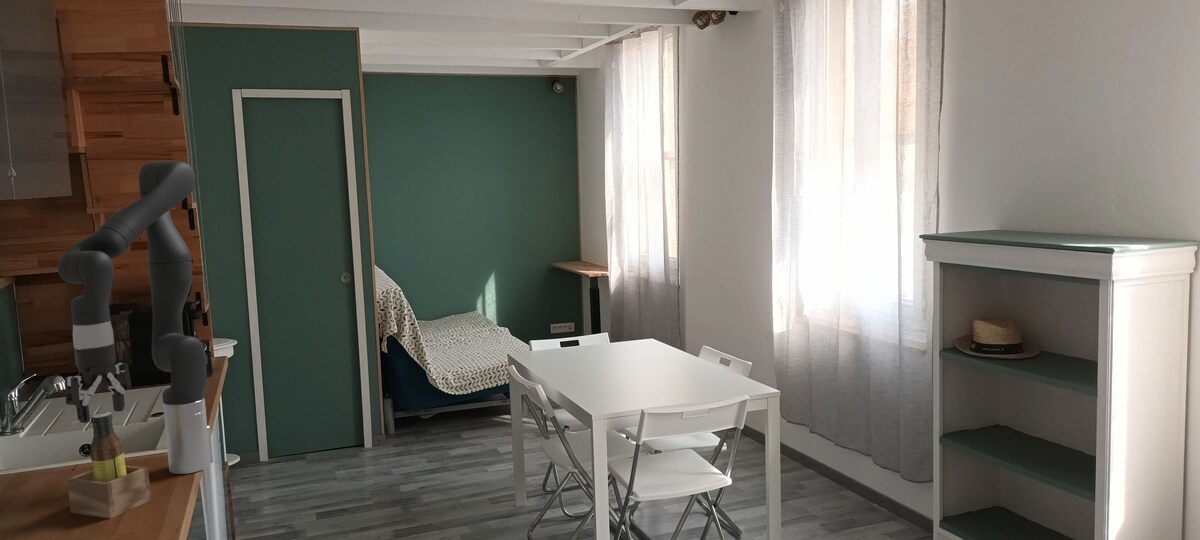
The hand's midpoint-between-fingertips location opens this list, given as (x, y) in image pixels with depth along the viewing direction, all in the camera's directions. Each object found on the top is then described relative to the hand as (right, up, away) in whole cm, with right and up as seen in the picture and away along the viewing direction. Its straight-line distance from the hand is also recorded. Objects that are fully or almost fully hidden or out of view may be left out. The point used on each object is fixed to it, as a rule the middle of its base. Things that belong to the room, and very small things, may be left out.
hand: (102, 416), depth 189 cm
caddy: (+1, -20, +2) cm, 20 cm away
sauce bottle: (+1, -19, +3) cm, 20 cm away
